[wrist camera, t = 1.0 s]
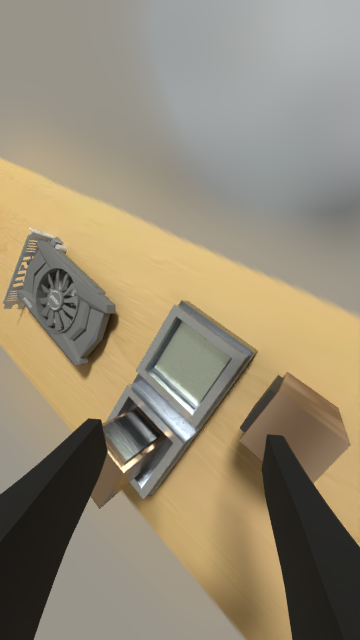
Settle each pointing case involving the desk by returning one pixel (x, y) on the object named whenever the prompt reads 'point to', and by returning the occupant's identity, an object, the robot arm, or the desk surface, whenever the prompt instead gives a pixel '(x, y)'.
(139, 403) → the grey block holder
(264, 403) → the walnut block
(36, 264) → the graphics card
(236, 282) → the desk surface
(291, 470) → the robot arm
